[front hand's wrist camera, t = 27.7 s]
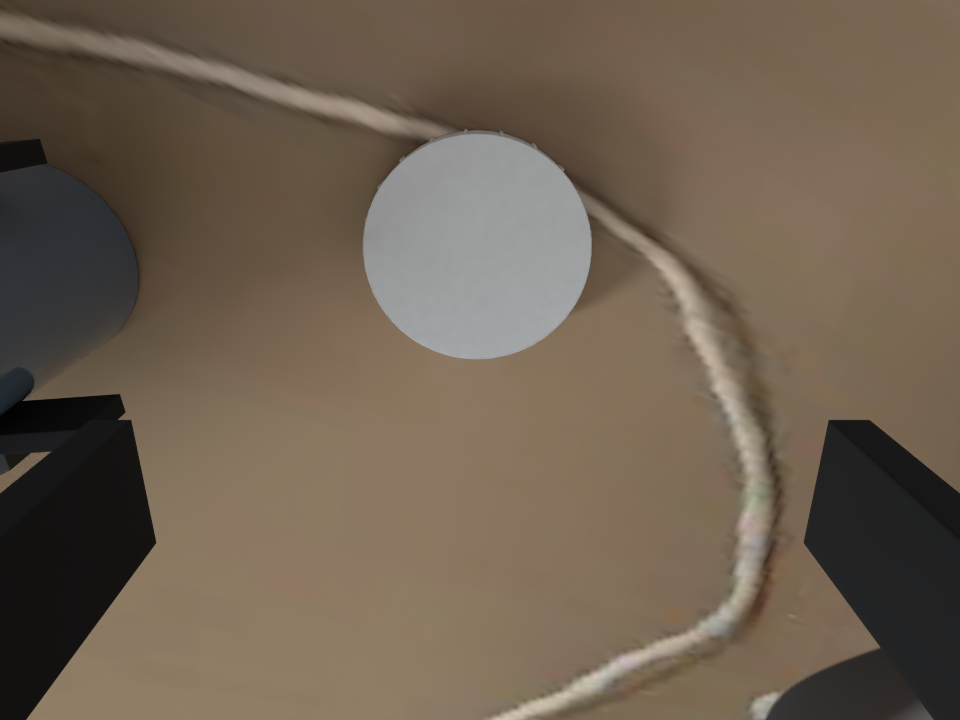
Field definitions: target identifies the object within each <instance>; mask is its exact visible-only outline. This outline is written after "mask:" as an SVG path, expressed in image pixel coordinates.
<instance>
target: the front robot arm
mask: <svg viewBox="0 0 960 720" xmlns="http://www.w3.org/2000/svg"><path fill="white" fill-rule="evenodd" d="M155 544H156V539H155V534H154V529H153V524H152V519H151V515H150V510H149V505H148V500H147V495H146V490H145V485H144V480H143V475H142V471H141V466H140V461H139V456H138V451H137V446H136V441H135V436H134V431H133V427H132V422H131V420H90V421H89V422H87V423H86V424H85V425H84V426H83V427H81V428H80V429H79V430H78V431H76V432H75V433H74V434H73V435H72V436H70V437H69V438H68V439H67V440H65V441H64V442H63V443H62V444H60V445H59V446H58V447H57V448H56V449H54V450H53V451H52V452H51V453H49V454H48V455H47V456H46V457H45V458H43V459H42V460H41V461H40V462H38V463H37V464H36V465H35V466H33V467H32V468H31V469H30V470H29V471H27V472H26V473H25V474H24V475H22V476H21V477H20V478H19V479H17V480H16V481H15V482H14V483H13V484H11V485H10V486H9V487H8V488H6V489H5V490H4V491H3V492H2V493H0V720H26V719H27V718H28V716H29V715H30V714H31V712H32V711H33V710H34V708H35V707H36V706H37V704H38V703H39V702H40V700H41V699H42V697H43V696H44V695H45V693H46V692H47V691H48V689H49V688H50V687H51V685H52V684H53V682H54V681H55V680H56V678H57V677H58V676H59V674H60V673H61V672H62V670H63V669H64V668H65V666H66V665H67V663H68V662H69V661H70V659H71V658H72V657H73V655H74V654H75V653H76V651H77V650H78V649H79V647H80V646H81V644H82V643H83V642H84V640H85V639H86V638H87V636H88V635H89V634H90V632H91V631H92V629H93V628H94V627H95V625H96V624H97V623H98V621H99V620H100V619H101V617H102V616H103V615H104V613H105V612H106V610H107V609H108V608H109V606H110V605H111V604H112V602H113V601H114V600H115V598H116V597H117V596H118V594H119V593H120V591H121V590H122V589H123V587H124V586H125V585H126V583H127V582H128V581H129V579H130V578H131V576H132V575H133V574H134V572H135V571H136V570H137V568H138V567H139V566H140V564H141V563H142V562H143V560H144V559H145V557H146V556H147V555H148V553H149V552H150V551H151V549H152V548H153V547H154V545H155ZM804 544H805V545H806V547H807V548H808V549H809V551H810V552H811V553H812V555H813V556H814V557H815V559H816V560H817V562H818V563H819V564H820V566H821V567H822V568H823V570H824V571H825V572H826V574H827V575H828V576H829V578H830V579H831V581H832V582H833V583H834V585H835V586H836V587H837V589H838V590H839V591H840V593H841V594H842V596H843V597H844V598H845V600H846V601H847V602H848V604H849V605H850V606H851V608H852V609H853V610H854V612H855V613H856V615H857V616H858V617H859V619H860V620H861V621H862V623H863V624H864V625H865V627H866V628H867V629H868V631H869V632H870V634H871V635H872V636H873V638H874V639H875V640H876V642H877V643H878V644H879V646H880V647H881V649H882V650H883V651H884V652H885V654H886V655H887V657H888V658H889V659H890V661H891V662H892V663H893V665H894V666H895V668H896V669H897V670H898V672H899V673H900V674H901V676H902V677H903V678H904V680H905V681H906V682H907V684H908V685H909V687H910V688H911V689H912V691H913V692H914V693H915V695H916V696H917V697H918V699H919V700H920V701H921V703H922V704H923V706H924V707H925V708H926V710H927V711H928V712H929V714H930V715H931V716H932V718H933V719H934V720H960V493H958V492H957V491H956V490H955V489H954V488H952V487H951V486H950V485H949V484H947V483H946V482H945V481H944V480H943V479H941V478H940V477H939V476H938V475H936V474H935V473H934V472H933V471H931V470H930V469H929V468H928V467H927V466H925V465H924V464H923V463H922V462H920V461H919V460H918V459H917V458H915V457H914V456H913V455H912V454H911V453H909V452H908V451H907V450H906V449H904V448H903V447H902V446H901V445H900V444H898V443H897V442H896V441H895V440H893V439H892V438H891V437H890V436H888V435H887V434H886V433H885V432H884V431H882V430H881V429H880V428H879V427H877V426H876V425H875V424H874V423H873V422H871V421H870V420H829V422H828V427H827V431H826V436H825V441H824V446H823V451H822V456H821V461H820V466H819V471H818V475H817V480H816V485H815V490H814V495H813V500H812V505H811V510H810V515H809V519H808V524H807V529H806V534H805V539H804Z"/></svg>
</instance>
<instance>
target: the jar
mask: <svg viewBox="0 0 960 720" xmlns="http://www.w3.org/2000/svg"><path fill="white" fill-rule="evenodd" d="M138 281H139V277H138V266H137V261H136V256H135V252H134V249H133V247H132V244H131V241H130V239H129V237H128V235H127V233H126V231H125V229H124V227H123V225H122V224H121V222H120V221H119V219H118V217H117V216H116V215H115V214H114V212H113V211H112V210H111V208H110V207H109V206H108V205H107V204H106V203H105V202H104V201H103V200H102V199H101V198H100V197H99V196H98V195H97V194H96V193H95V192H94V191H92V190H91V189H90V188H89V187H88V186H86V185H85V184H83V183H82V182H80V181H79V180H77V179H76V178H74V177H73V176H71V175H69V174H67V173H65V172H63V171H61V170H59V169H57V168H54V167H51V166H49V165H46V164H42V165H37V166H31V167H26V168H21V169H16V170H11V171H6V172H1V173H0V416H1V415H3V414H4V413H6V412H7V411H8V410H10V409H11V408H13V407H14V406H16V405H17V404H18V403H20V402H21V401H23V400H24V399H25V398H27V397H28V396H30V395H31V394H32V393H34V392H35V391H37V390H38V389H40V388H41V387H42V386H44V385H45V384H47V383H48V382H49V381H51V380H52V379H54V378H55V377H57V376H58V375H59V374H61V373H62V372H64V371H65V370H66V369H68V368H69V367H71V366H72V365H74V364H75V363H76V362H78V361H79V360H81V359H82V358H83V357H85V356H86V355H88V354H89V353H90V352H92V351H93V350H95V349H96V348H98V347H99V346H100V345H102V344H103V343H105V342H106V341H107V340H109V339H110V338H112V337H113V336H114V335H115V334H116V333H117V332H118V331H119V330H120V329H121V328H122V327H123V325H124V324H125V323H126V321H127V320H128V318H129V316H130V315H131V313H132V310H133V308H134V305H135V302H136V297H137V293H138Z"/></svg>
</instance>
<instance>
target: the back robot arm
mask: <svg viewBox="0 0 960 720" xmlns="http://www.w3.org/2000/svg"><path fill="white" fill-rule="evenodd" d="M42 164H47V160H46V157H45V154H44V151H43V148H42V144H41V141H40V139H34V140H21V141H9V142H0V173H1V172H6V171H11V170H16V169H21V168H26V167H31V166H37V165H42ZM124 413H125V409H124V406H123V403H122V400H121V396H120V394H116V395H102V396H87V397H73V398H59V399H45V400H31V401H21V402H20V403H18V404H17V405H16V406H14V407H13V408H11V409H10V410H8V411H7V412H6V413H4V414H3V415H1V416H0V475H1V474H3V473H5V472H7V471H9V470H11V469H12V468H13V467H15V466H16V465H17V464H18V463H19V462H21V461H22V460H23V459H24V458H25V457H27V456H28V455H29V454H30V453H35V452H50V451H53V450H54V449H56V448H57V447H58V446H59V445H60V444H62V443H63V442H64V441H65V440H67V439H68V438H69V437H70V436H72V435H73V434H74V433H75V432H76V431H78V430H79V429H80V428H81V427H83V426H84V425H85V424H86V423H87V422H89V421H90V420H118V419H119V418H120V417H121V416H122V415H123V414H124Z"/></svg>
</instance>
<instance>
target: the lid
mask: <svg viewBox="0 0 960 720" xmlns="http://www.w3.org/2000/svg"><path fill="white" fill-rule="evenodd" d="M399 161H400V163H399V164H398V165H397V166H396V167H395V168H394V169H393V170H392V172H391V173H390V174H389V175H388V177H387V178H386V179H385V180H384V182H382V183H381V184H380V185H379V186H378V187H377V189H379V190H378V191H377V193H376V195H375V197H374V199H373V201H372V204H371V206H370V208H369V211H368V215H367V217H366V218H365V221H366V222H365V228H364V236H363V257H364V264H365V270H366V274H367V277H368V281H369V284H370V286H371V289H372V291H373V293H374V296H375V298H376V299H377V301H378V303H379V304H380V306H381V308H382V309H383V311H384V312H385V313H386V315H387V316H388V317H389V318H390V320H391V321H392V322H393V323H394V324H395V325H396V326H397V327H398V328H399V329H400V330H401V331H403V332H404V333H405V334H406V335H408V336H409V337H410V338H411V339H413V340H415V341H416V342H418V343H420V344H421V345H423V346H425V347H427V348H429V349H432V350H434V351H436V352H439V353H442V354H445V355H449V356H453V357H459V358H466V359H489V358H496V357H502V356H506V355H510V354H513V353H516V352H519V351H521V350H524V349H526V348H528V347H530V346H532V345H534V344H535V343H537V342H539V341H540V340H542V339H544V338H545V337H546V336H547V335H549V334H550V333H551V332H552V331H554V330H555V329H556V328H557V327H558V326H559V325H560V324H561V323H562V322H563V321H564V320H565V319H566V317H567V316H568V315H569V313H570V312H571V311H572V309H573V308H574V306H575V304H576V303H577V301H578V299H579V297H580V296H581V293H582V291H583V288H584V286H585V284H586V281H587V277H588V273H589V269H590V263H591V256H592V237H591V233H592V230H591V229H590V223H589V220H588V216H587V212H586V209H585V207H584V204H583V202H582V200H583V198H582V196H581V195H580V194H579V193H578V192H577V190H576V188H575V187H574V185H573V184H572V182H571V181H570V179H569V178H568V177H567V176H566V175H565V173H564V172H563V171H564V169H563V167H562V166H561V165H560V164H559V165H557V164H556V163H555V162H554V161H553V160H552V159H550V158H549V157H548V156H547V155H546V154H545V153H543V152H542V151H540V150H539V149H538V148H537V146H536V145H535V144H534V143H532V144H529V143H527V142H525V141H523V140H522V139H519V138H516V137H513V136H511V135H508V134H503V131H501V130H500V132H494V131H482V130H472V131H468V129H465V130H464V131H461V132H456V133H451V134H447V135H444V136H441V137H439V138H436V139H434V137H432V138H431V139H430V140H429V142H427V143H426V144H424V145H422V146H420V147H419V148H417V149H416V150H414V151H413V152H412V153H410V154H409V155H408V156H406V157H405V156H403V157H402V158H401V159H400V160H399Z"/></svg>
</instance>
